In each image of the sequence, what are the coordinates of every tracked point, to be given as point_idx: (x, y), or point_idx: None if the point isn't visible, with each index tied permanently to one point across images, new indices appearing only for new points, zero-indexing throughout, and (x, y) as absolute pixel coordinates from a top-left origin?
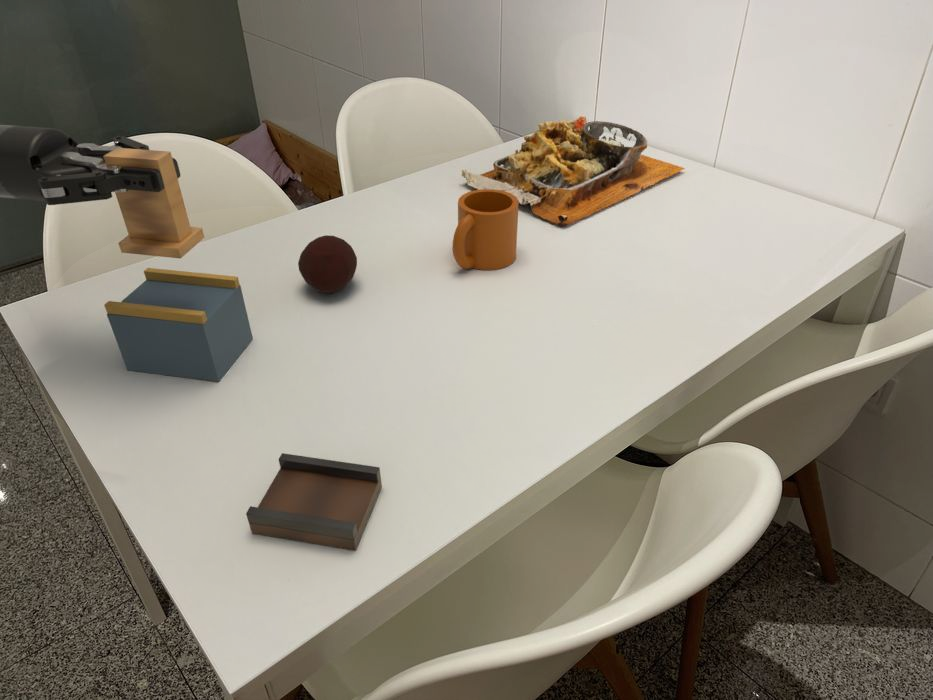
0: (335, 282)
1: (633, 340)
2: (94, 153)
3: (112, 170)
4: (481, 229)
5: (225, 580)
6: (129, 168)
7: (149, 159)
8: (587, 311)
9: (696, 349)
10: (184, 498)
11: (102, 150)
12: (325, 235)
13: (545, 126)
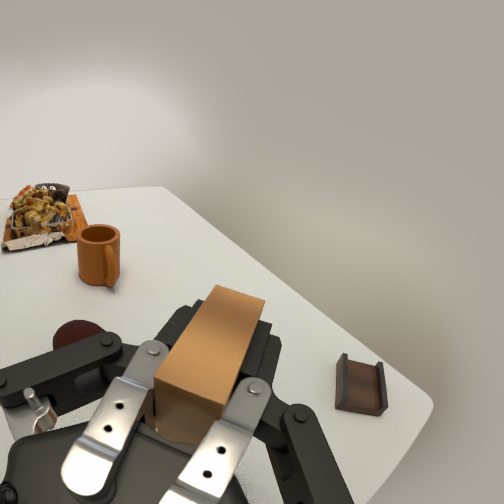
0: None
1: (217, 256)
2: (123, 453)
3: (270, 393)
4: (114, 251)
5: (404, 419)
6: (254, 363)
7: (260, 311)
8: (185, 260)
9: (229, 245)
10: (364, 459)
11: (134, 423)
12: (64, 328)
13: (30, 192)
